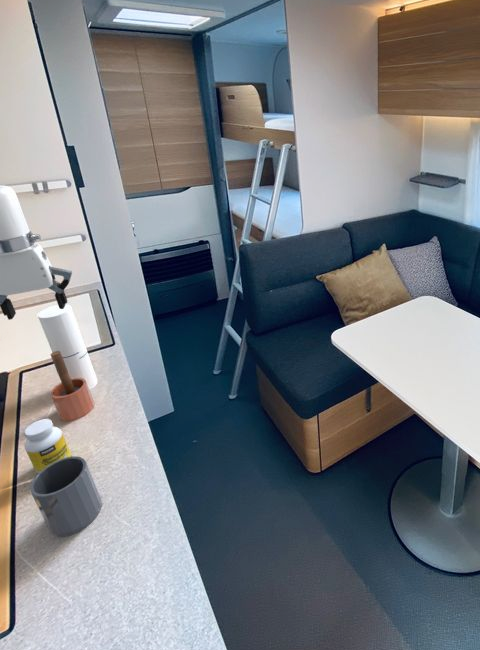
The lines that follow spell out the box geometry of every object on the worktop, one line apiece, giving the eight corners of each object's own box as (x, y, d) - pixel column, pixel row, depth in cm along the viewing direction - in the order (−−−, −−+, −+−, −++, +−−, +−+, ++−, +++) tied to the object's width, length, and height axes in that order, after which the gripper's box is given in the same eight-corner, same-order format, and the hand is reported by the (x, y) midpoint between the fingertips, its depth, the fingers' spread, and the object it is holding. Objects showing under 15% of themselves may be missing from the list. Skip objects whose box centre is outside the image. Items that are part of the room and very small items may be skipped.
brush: (67, 417, 105) (43, 359, 98) (69, 407, 108) (47, 351, 101) (85, 412, 107) (63, 355, 100) (87, 402, 110) (66, 346, 103)
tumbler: (45, 545, 76) (24, 504, 72) (54, 506, 83) (36, 467, 79) (99, 523, 79) (82, 484, 75) (104, 488, 86) (88, 449, 82)
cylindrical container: (64, 389, 116) (33, 312, 106) (91, 375, 121) (64, 301, 111) (74, 399, 112) (43, 320, 102) (102, 384, 117) (75, 308, 108)
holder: (57, 426, 103) (47, 401, 100) (63, 407, 109) (53, 383, 106) (93, 416, 106) (83, 391, 103) (96, 398, 112) (87, 374, 109)
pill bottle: (41, 484, 88) (21, 444, 83) (34, 467, 92) (15, 428, 87) (76, 465, 92) (59, 425, 88) (68, 449, 96) (52, 411, 92)
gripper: (62, 231, 96) (84, 296, 102) (-34, 245, 89) (-4, 313, 95) (56, 241, 90) (79, 309, 96) (-48, 256, 82) (-15, 329, 89)
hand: (38, 311), depth 96 cm, fingers open, 9 cm apart
